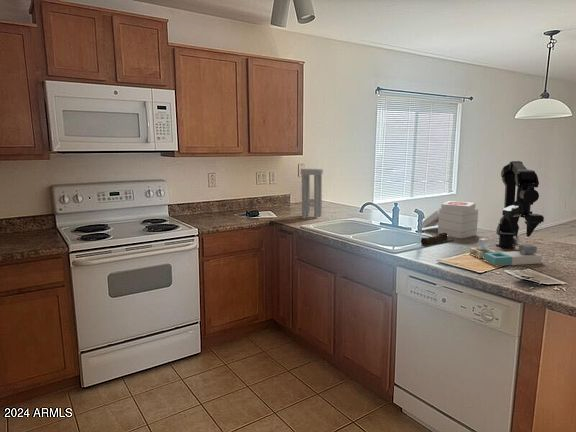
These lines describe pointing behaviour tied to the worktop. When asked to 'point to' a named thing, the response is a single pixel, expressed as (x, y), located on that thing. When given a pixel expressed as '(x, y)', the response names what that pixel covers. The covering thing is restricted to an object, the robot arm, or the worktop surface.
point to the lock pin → (483, 244)
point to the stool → (306, 191)
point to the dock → (512, 258)
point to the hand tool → (434, 239)
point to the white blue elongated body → (514, 239)
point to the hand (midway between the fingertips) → (520, 234)
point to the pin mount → (480, 252)
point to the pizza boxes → (455, 219)
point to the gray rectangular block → (527, 249)
